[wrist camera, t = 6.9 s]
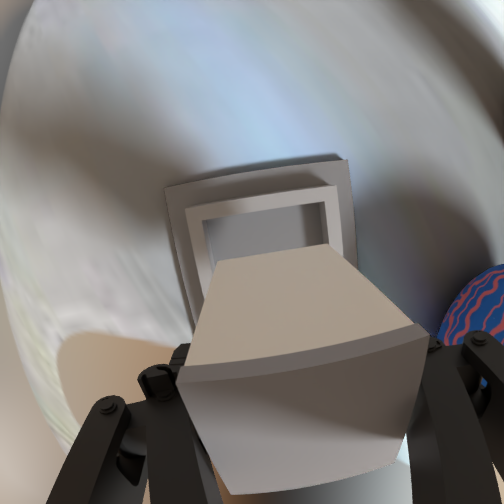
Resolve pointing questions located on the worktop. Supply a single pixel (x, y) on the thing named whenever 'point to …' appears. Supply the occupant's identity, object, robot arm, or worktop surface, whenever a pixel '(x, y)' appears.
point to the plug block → (299, 371)
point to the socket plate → (259, 218)
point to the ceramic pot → (477, 309)
